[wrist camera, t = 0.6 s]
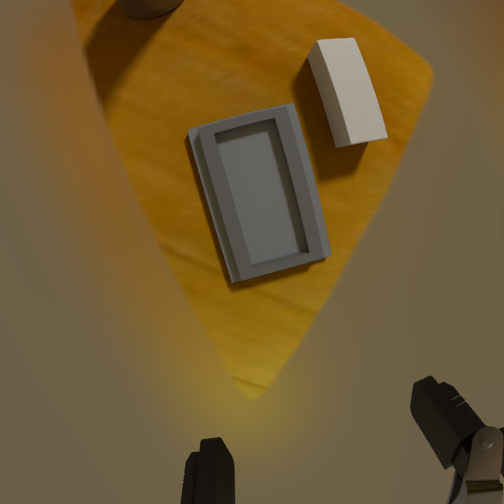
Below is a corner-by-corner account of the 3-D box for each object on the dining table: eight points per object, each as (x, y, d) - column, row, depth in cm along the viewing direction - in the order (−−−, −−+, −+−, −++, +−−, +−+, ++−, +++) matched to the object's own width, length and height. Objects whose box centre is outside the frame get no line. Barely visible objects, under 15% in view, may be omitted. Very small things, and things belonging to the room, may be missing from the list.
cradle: (232, 280, 35) (231, 287, 32) (188, 131, 30) (184, 128, 28) (329, 253, 34) (335, 259, 32) (292, 105, 30) (296, 99, 27)
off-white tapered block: (335, 148, 31) (351, 144, 26) (306, 56, 28) (316, 40, 23) (368, 141, 31) (387, 137, 26) (340, 53, 28) (354, 38, 23)
